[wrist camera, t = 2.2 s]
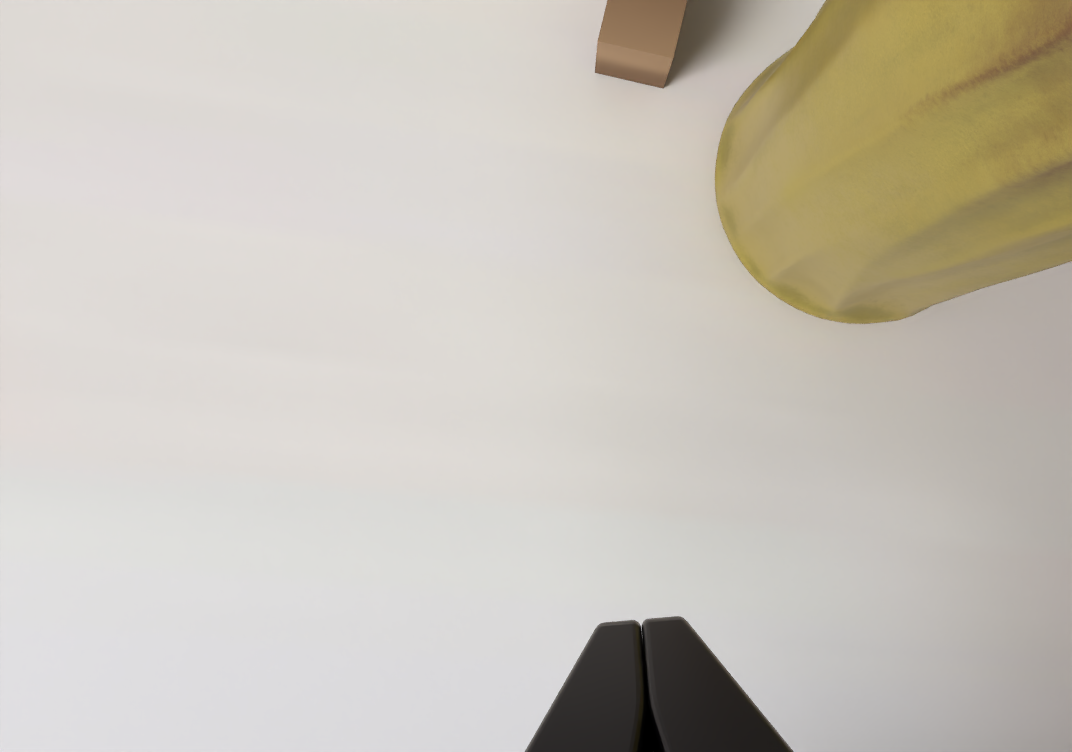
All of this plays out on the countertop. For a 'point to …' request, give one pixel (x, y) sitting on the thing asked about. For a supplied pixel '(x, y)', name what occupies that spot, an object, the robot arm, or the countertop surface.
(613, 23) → the wooden blocks
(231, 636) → the countertop surface
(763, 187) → the vase
